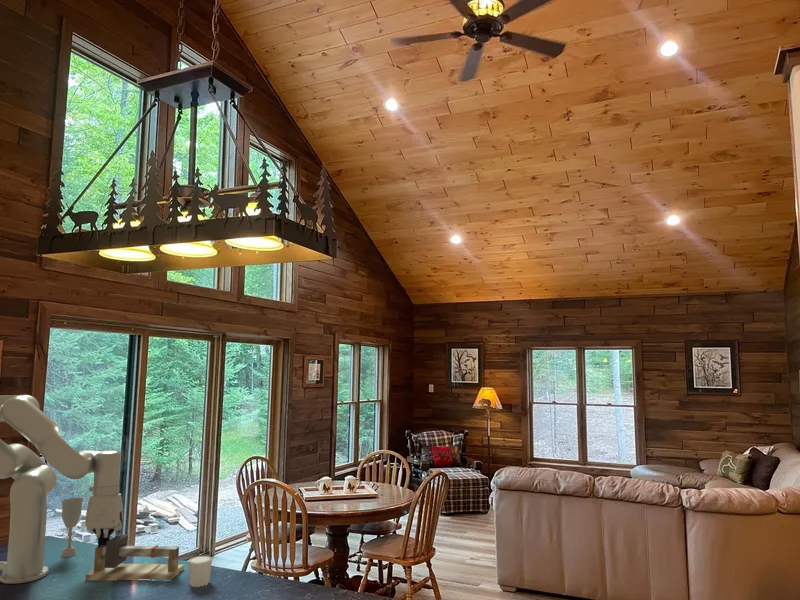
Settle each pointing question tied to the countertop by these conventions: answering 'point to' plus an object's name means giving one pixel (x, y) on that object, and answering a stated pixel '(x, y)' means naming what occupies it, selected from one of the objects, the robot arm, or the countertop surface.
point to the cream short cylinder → (199, 570)
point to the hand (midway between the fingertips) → (103, 549)
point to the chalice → (70, 521)
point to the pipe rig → (137, 570)
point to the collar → (115, 551)
